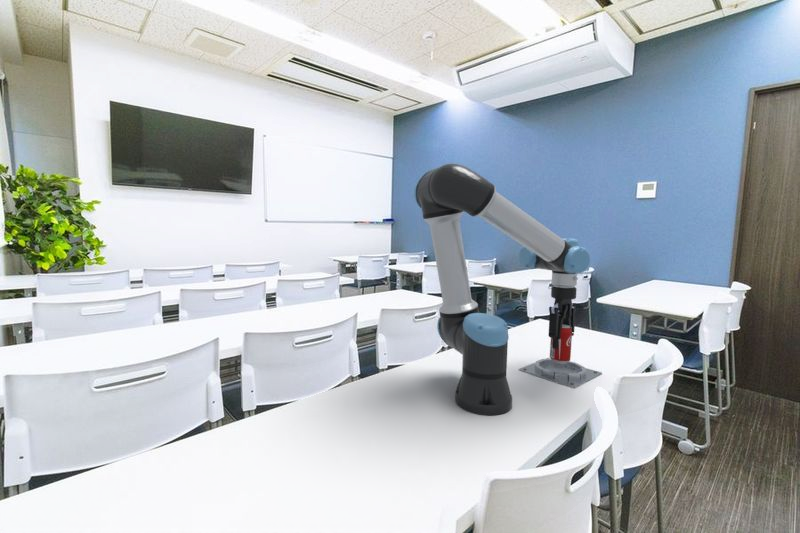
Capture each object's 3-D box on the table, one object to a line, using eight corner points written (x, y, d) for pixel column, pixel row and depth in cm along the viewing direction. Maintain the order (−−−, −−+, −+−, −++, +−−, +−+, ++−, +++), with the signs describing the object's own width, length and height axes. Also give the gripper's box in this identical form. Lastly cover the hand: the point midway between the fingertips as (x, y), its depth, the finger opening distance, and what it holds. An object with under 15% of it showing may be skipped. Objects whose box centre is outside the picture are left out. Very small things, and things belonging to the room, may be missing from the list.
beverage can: (572, 365, 124) (575, 328, 123) (552, 363, 124) (554, 327, 124) (566, 359, 130) (568, 323, 129) (547, 357, 131) (549, 322, 130)
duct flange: (574, 388, 114) (575, 381, 114) (518, 370, 129) (518, 364, 129) (601, 374, 127) (602, 368, 127) (547, 359, 141) (547, 353, 141)
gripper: (561, 289, 117) (557, 365, 119) (588, 285, 128) (584, 353, 130) (538, 287, 122) (535, 358, 124) (566, 282, 134) (563, 348, 136)
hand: (560, 355), depth 127 cm, fingers closed on beverage can, 5 cm apart
